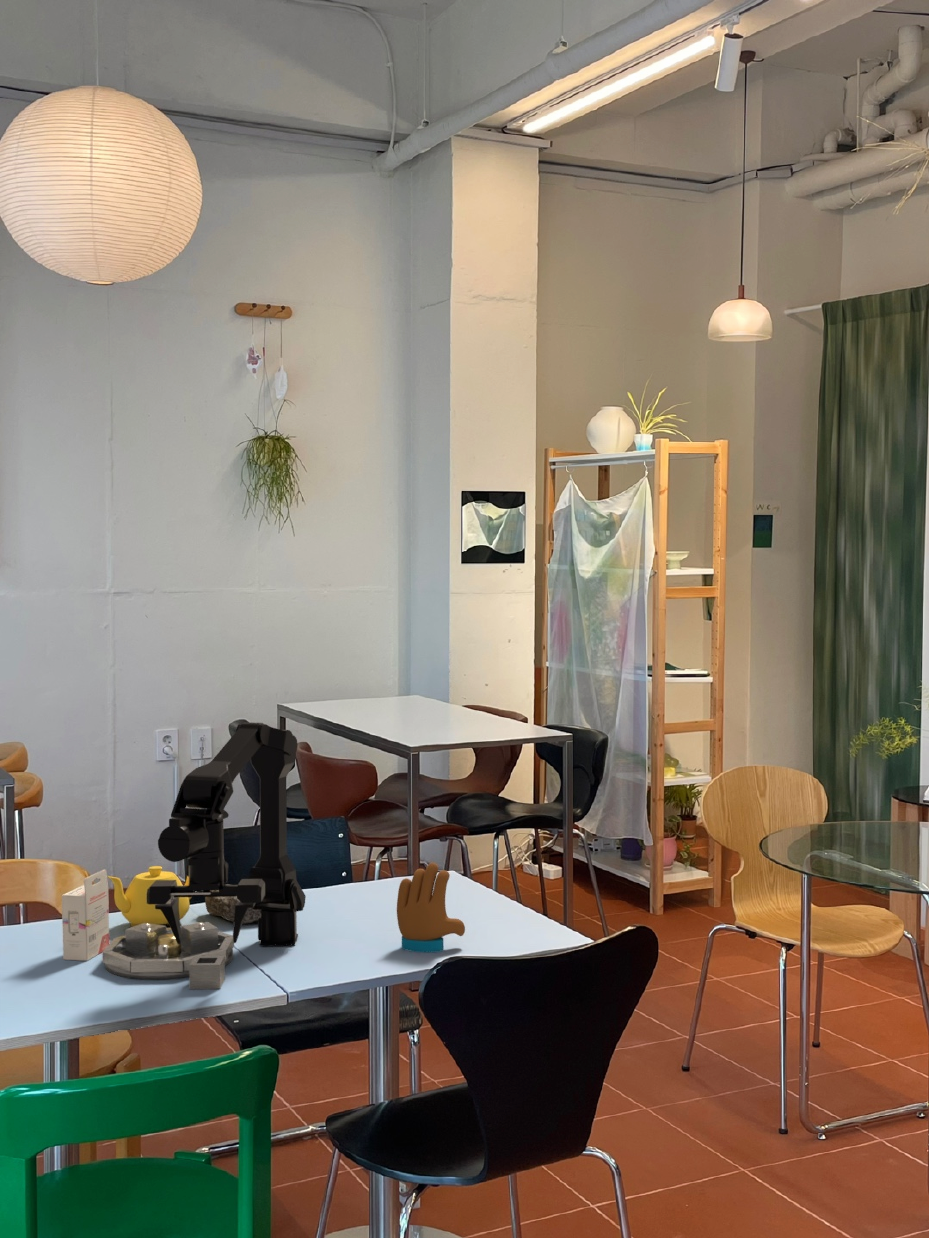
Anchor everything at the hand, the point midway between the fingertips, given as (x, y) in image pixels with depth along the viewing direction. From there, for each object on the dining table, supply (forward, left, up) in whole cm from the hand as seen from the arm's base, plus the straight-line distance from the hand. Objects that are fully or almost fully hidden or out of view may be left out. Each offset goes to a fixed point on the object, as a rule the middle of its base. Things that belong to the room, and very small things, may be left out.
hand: (207, 942), depth 208 cm
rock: (0, -44, -7) cm, 44 cm away
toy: (-37, -20, -7) cm, 43 cm away
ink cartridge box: (+25, -19, -7) cm, 32 cm away
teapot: (+16, -37, -7) cm, 41 cm away
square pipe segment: (0, 0, -7) cm, 7 cm away
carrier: (+9, -14, -7) cm, 18 cm away
